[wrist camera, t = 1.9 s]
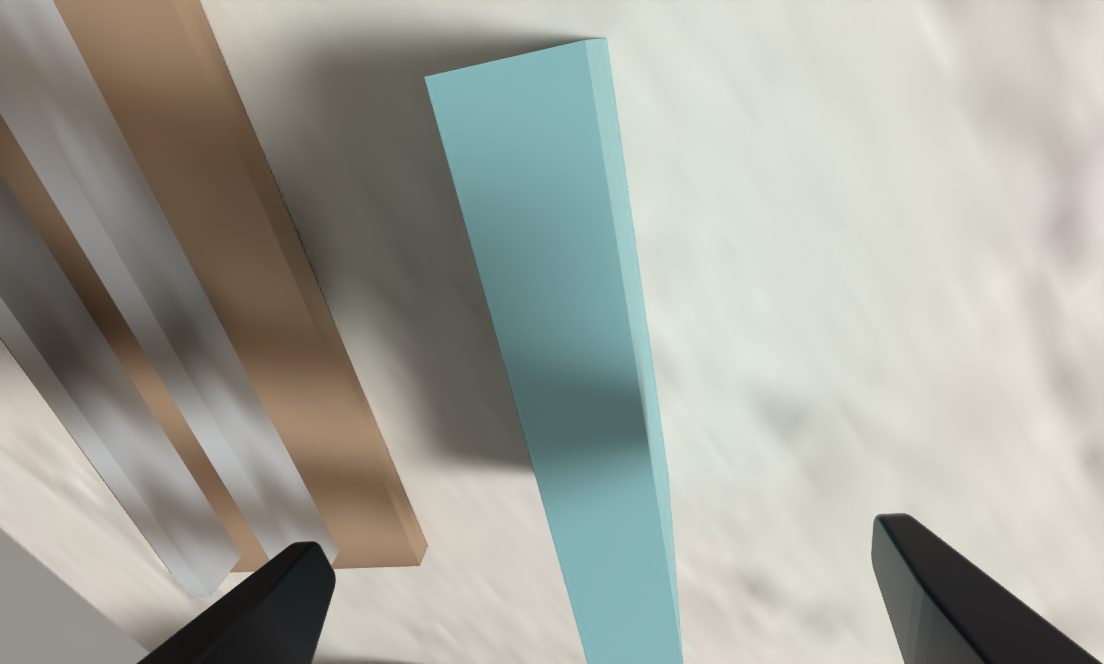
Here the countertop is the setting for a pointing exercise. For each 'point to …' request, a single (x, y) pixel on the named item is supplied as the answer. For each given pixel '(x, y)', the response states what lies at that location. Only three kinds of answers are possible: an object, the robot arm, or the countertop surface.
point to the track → (178, 298)
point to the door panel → (571, 328)
